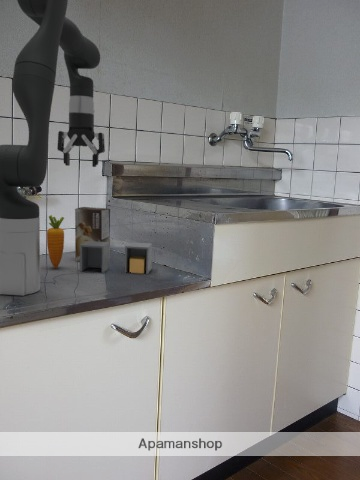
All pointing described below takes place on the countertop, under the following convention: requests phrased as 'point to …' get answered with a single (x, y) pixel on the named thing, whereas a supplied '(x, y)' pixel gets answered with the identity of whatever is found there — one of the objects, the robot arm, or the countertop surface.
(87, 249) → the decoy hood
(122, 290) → the countertop surface
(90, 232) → the coffee box
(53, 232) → the carrot
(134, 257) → the cube
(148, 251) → the cube hood
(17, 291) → the robot arm
